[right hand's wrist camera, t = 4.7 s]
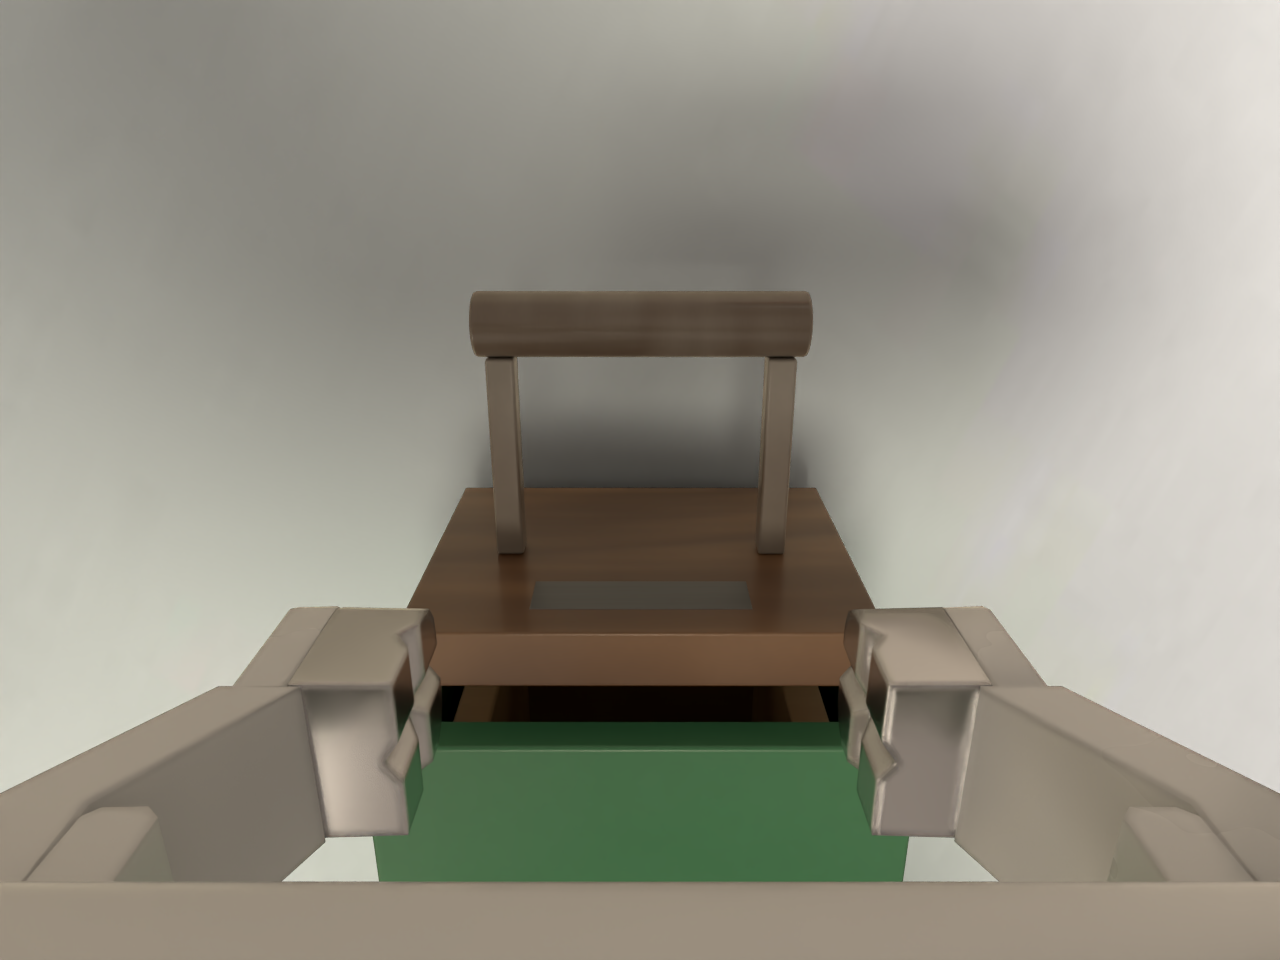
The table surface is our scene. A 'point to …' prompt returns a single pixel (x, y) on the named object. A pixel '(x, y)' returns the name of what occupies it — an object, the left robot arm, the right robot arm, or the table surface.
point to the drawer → (640, 542)
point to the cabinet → (640, 805)
